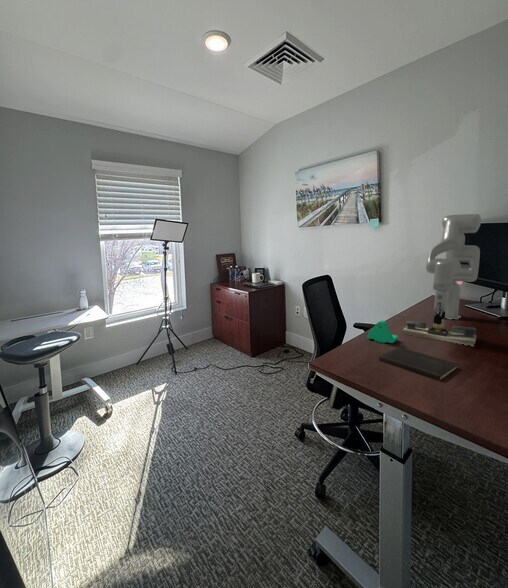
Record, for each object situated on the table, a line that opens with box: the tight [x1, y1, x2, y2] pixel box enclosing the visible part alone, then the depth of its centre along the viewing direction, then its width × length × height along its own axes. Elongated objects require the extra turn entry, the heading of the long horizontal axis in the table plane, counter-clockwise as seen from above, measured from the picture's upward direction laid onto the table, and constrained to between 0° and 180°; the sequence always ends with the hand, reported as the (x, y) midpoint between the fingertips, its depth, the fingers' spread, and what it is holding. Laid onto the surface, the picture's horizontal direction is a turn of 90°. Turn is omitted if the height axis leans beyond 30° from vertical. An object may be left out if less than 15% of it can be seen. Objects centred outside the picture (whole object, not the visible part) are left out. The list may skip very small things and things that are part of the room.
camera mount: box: [366, 319, 399, 344], centre depth 145 cm, size 12×8×10 cm, turn 48°
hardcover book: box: [378, 346, 459, 382], centre depth 119 cm, size 16×23×2 cm
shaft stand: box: [401, 319, 477, 347], centre depth 148 cm, size 11×30×6 cm, turn 50°
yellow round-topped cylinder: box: [432, 318, 446, 332], centre depth 147 cm, size 5×4×7 cm
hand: (439, 321), depth 147 cm, fingers open, 9 cm apart
